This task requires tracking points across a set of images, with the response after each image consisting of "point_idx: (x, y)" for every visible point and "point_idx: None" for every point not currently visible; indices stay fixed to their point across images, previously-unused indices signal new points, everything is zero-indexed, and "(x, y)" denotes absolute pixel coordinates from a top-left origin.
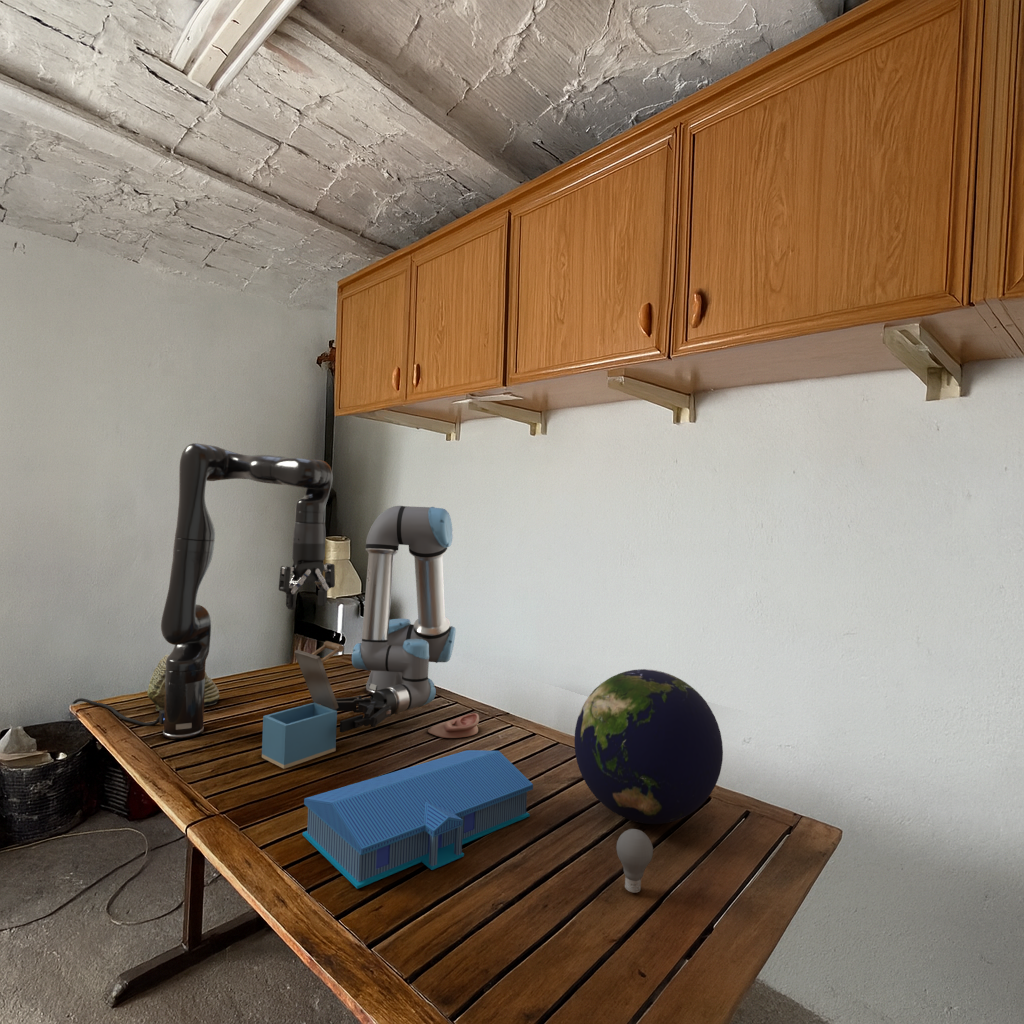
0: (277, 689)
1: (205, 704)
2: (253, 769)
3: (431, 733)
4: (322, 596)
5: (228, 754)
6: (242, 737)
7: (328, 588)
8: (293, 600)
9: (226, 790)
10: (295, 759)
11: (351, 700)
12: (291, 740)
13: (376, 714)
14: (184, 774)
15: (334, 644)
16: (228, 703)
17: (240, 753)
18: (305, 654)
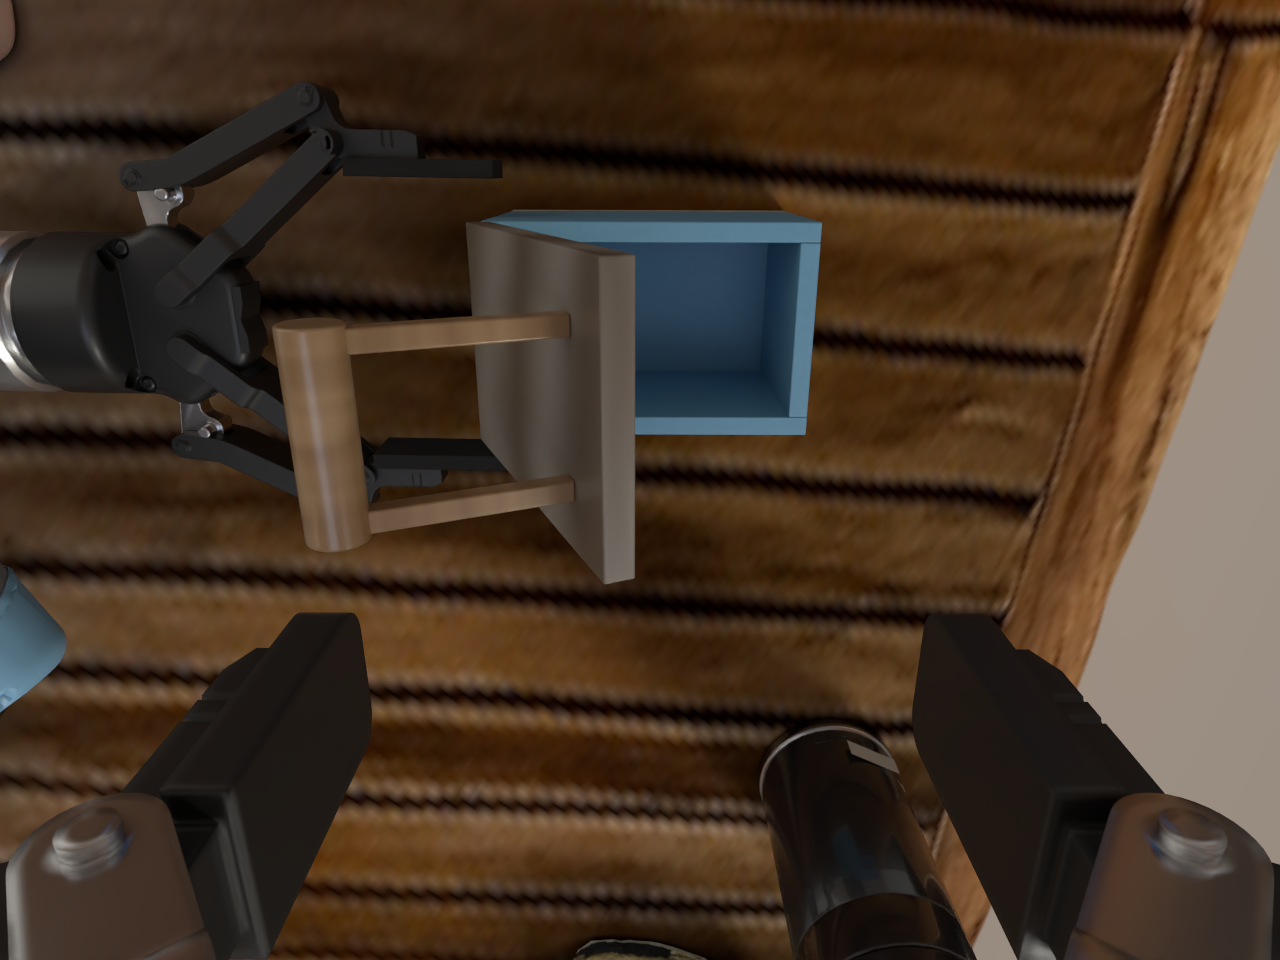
0: (321, 943)
1: (630, 945)
2: (862, 301)
3: (10, 4)
4: (290, 734)
5: (836, 498)
6: (703, 607)
7: (40, 830)
8: (1044, 701)
9: (1047, 199)
10: (730, 211)
11: (243, 443)
12: (768, 216)
13: (266, 119)
14: (1043, 446)
15: (327, 410)
16: (548, 922)
17: (801, 476)
18: (626, 437)
